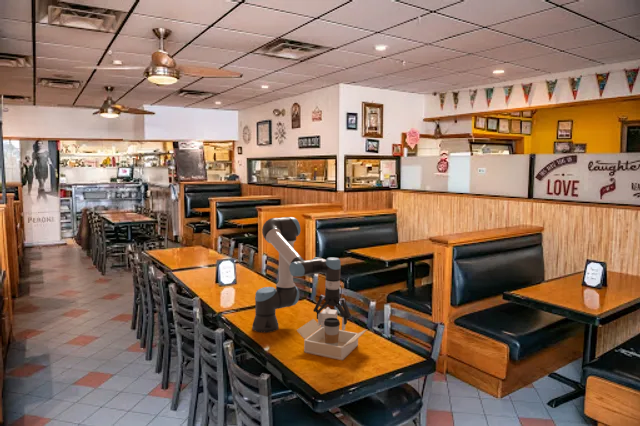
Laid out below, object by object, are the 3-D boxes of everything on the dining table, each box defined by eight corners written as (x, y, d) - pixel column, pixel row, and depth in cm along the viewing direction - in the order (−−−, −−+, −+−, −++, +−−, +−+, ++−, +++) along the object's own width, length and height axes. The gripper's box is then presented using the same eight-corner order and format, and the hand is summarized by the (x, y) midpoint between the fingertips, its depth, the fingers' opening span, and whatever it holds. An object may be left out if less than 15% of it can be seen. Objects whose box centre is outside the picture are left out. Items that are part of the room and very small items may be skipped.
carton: (303, 352, 232) (303, 340, 231) (322, 338, 251) (322, 326, 251) (342, 360, 222) (342, 348, 222) (358, 345, 242) (358, 333, 242)
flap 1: (313, 318, 251) (313, 319, 251) (296, 329, 234) (296, 330, 234) (321, 327, 250) (320, 327, 250) (305, 338, 232) (304, 339, 232)
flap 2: (353, 341, 220) (354, 342, 220) (367, 328, 238) (367, 329, 238) (343, 346, 223) (344, 347, 223) (357, 333, 240) (358, 334, 240)
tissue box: (334, 334, 258) (335, 311, 256) (320, 333, 259) (320, 310, 258) (337, 329, 266) (337, 306, 265) (323, 327, 268) (323, 305, 266)
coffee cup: (322, 344, 241) (323, 317, 239) (338, 344, 241) (338, 317, 240) (324, 351, 232) (324, 322, 231) (340, 350, 233) (340, 322, 232)
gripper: (307, 286, 236) (306, 325, 238) (352, 293, 225) (351, 334, 227) (314, 282, 242) (313, 321, 245) (357, 289, 232) (356, 329, 234)
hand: (331, 327), depth 236 cm, fingers open, 13 cm apart
